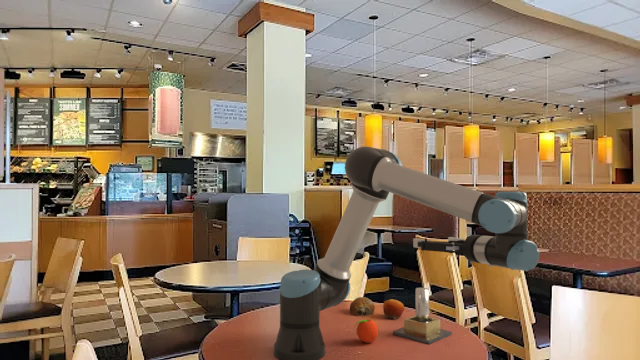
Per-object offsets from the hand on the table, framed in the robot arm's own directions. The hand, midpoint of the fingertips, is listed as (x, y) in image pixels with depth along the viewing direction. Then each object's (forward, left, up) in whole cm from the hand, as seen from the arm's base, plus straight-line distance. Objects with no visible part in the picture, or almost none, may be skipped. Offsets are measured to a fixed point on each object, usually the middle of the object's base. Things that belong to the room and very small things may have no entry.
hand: (431, 241), depth 139 cm
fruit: (+17, +27, -32) cm, 45 cm away
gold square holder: (+7, +8, -32) cm, 34 cm away
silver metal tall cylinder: (+7, +8, -31) cm, 33 cm away
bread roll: (+13, +40, -32) cm, 53 cm away
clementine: (-13, +16, -32) cm, 38 cm away
